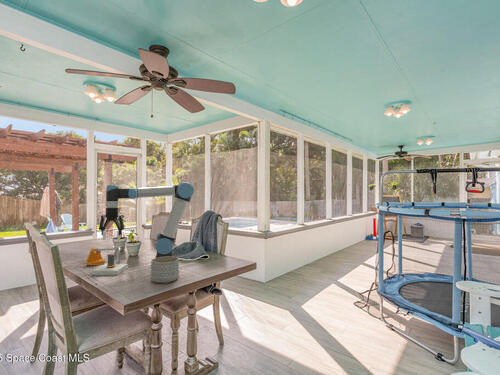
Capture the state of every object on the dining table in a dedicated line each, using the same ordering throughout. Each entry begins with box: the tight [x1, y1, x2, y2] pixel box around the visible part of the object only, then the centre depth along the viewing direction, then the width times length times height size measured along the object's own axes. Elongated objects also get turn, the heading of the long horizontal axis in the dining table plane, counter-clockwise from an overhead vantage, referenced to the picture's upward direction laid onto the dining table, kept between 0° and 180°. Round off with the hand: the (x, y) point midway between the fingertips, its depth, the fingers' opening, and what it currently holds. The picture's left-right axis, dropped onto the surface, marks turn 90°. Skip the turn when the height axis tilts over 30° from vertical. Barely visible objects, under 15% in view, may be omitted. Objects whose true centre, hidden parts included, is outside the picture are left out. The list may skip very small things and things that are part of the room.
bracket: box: [85, 247, 106, 267], centre depth 198 cm, size 11×7×12 cm, turn 145°
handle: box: [95, 246, 121, 264], centre depth 188 cm, size 2×16×14 cm, turn 115°
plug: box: [106, 253, 116, 268], centre depth 181 cm, size 5×5×12 cm
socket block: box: [91, 263, 129, 276], centre depth 181 cm, size 16×16×3 cm
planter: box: [150, 255, 180, 284], centre depth 165 cm, size 16×16×13 cm
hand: (111, 240), depth 181 cm, fingers open, 9 cm apart
